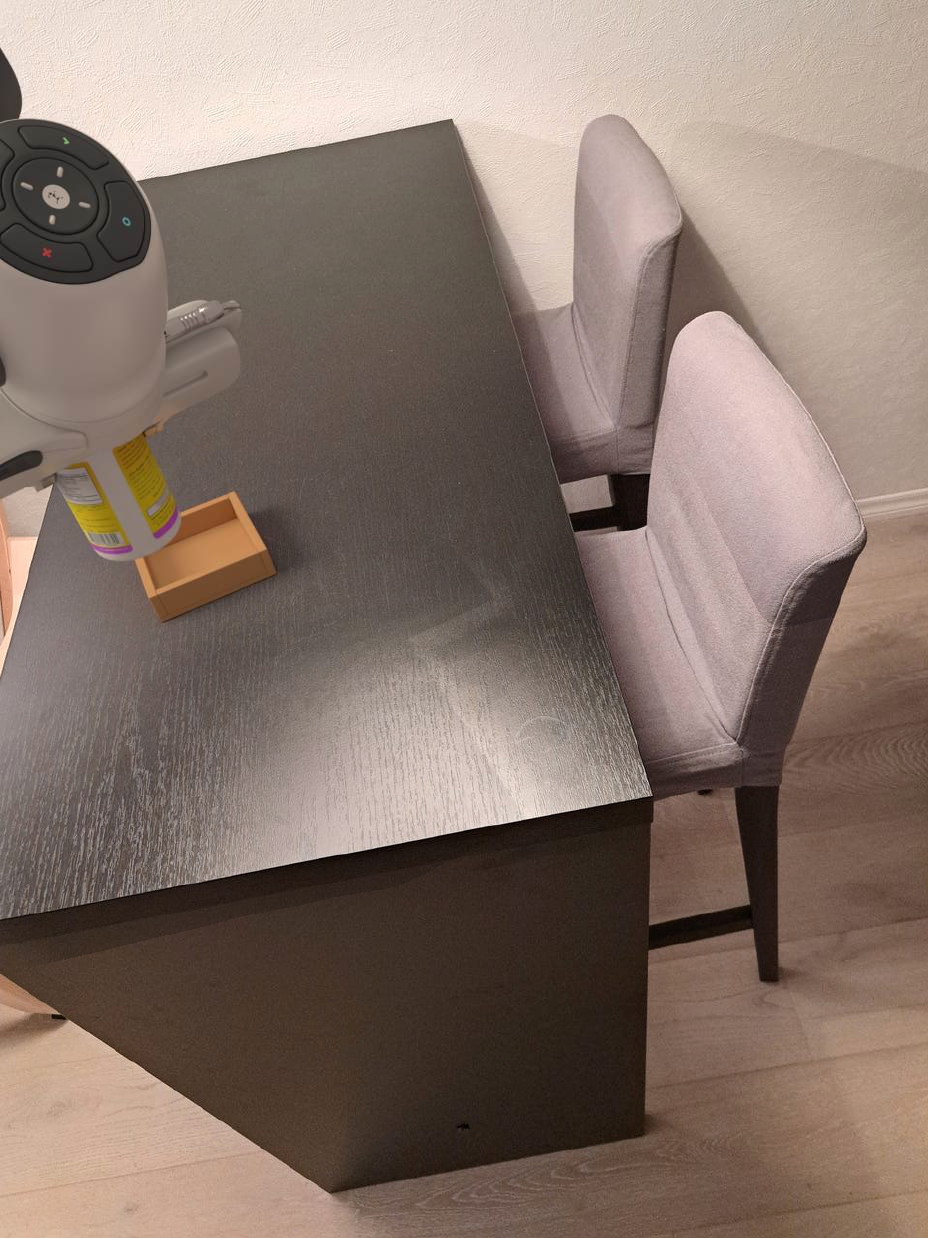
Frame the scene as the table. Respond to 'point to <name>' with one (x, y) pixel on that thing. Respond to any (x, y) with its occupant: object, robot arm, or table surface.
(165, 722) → the table surface
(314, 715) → the table surface
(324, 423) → the table surface
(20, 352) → the robot arm
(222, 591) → the open wooden box
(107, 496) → the supplement bottle
